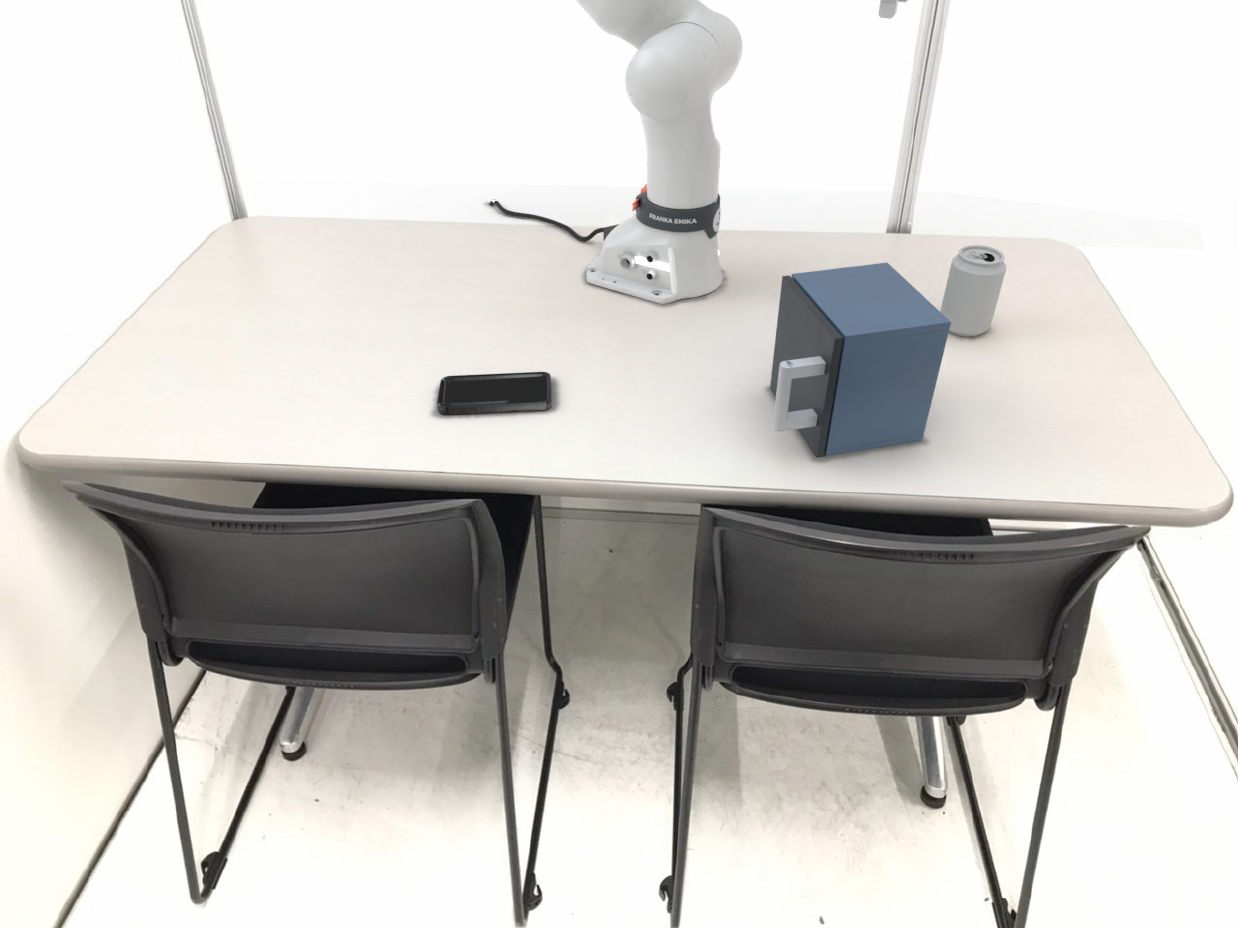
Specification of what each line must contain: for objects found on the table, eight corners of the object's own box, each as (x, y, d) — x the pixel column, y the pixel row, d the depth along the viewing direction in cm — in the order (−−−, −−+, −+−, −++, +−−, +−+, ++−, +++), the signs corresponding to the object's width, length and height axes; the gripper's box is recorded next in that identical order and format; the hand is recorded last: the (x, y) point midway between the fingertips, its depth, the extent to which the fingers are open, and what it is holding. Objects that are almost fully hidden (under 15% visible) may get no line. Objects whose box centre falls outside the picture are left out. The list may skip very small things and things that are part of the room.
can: (992, 341, 133) (1013, 266, 126) (939, 337, 134) (956, 262, 127) (986, 317, 139) (1006, 243, 132) (935, 312, 140) (952, 239, 133)
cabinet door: (775, 463, 111) (790, 344, 100) (732, 393, 123) (741, 280, 113) (824, 456, 112) (843, 337, 101) (776, 387, 124) (789, 275, 114)
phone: (441, 376, 125) (550, 371, 126) (442, 383, 126) (551, 378, 126) (436, 408, 119) (550, 403, 119) (437, 415, 119) (551, 410, 120)
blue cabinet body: (825, 456, 112) (845, 336, 101) (778, 387, 124) (791, 273, 114) (922, 441, 114) (951, 322, 104) (866, 375, 126) (887, 262, 116)
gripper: (905, -138, 109) (884, -10, 118) (870, -120, 94) (849, 24, 103) (959, -136, 107) (934, -6, 116) (932, -118, 92) (906, 29, 101)
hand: (894, 9), depth 109 cm, fingers open, 8 cm apart
